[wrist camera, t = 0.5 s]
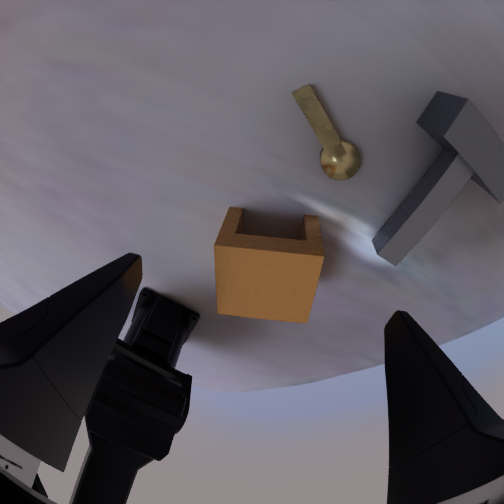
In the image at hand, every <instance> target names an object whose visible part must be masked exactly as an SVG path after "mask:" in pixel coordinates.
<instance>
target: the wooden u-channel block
mask: <svg viewBox="0 0 504 504" xmlns="http://www.w3.org/2000/svg"><path fill="white" fill-rule="evenodd" d="M242 220H243V208H234V207H229V209H228V212H227V214H226V217H225V219H224V222H223V224H222V227H221V229H220V232H219V234H218V237H217V239H216V242H215V244H214V255H215V277H216V297H217V313H218V314H225V315H233V316H241V317H249V318H258V319H267V320H277V321H287V322H298V323H307V322H308V318H309V314H310V311H311V307H312V303H313V300H314V296H315V292H316V288H317V284H318V280H319V276H320V272H321V268H322V264H323V260H324V252H323V245H322V238H321V232H320V226H319V220H318V216H314V215H305V214H304V220H303V227H302V233H301V239H300V240H295V239H286V238H276V237H266V236H256V235H246V234H242Z"/></svg>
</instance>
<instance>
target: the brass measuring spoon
mask: <svg viewBox="0 0 504 504" xmlns="http://www.w3.org/2000/svg"><path fill="white" fill-rule="evenodd" d="M291 93H292V95H293V97H294V98H295V100H296V101H297V103H298V105H299V106H300V108H301V110H302V111H303V113H304V115H305V116H306V118H307V120H308V121H309V123H310V125H311V127H312V128H313V130H314V132H315V134H316V135H317V137H318V139H319V141H320V143H321V144H322V146H323V148H322V149H321V152H320V162H321V166H322V169H323V171H324V172H325V173H326V174H327V175H328V176H329V177H331V178H332V179H335V180H346V179H349V178H351V177H352V176H354V175H355V174H356V173H357V171H358V169H359V167H360V156H359V153H358V151H357V150H356V149H355V147H354V146H353V145H352V144H351V143H350V142H348V141H346V140H343V139H339V137H338V135H337V133H336V131H335V129H334V127H333V125H332V124H331V122H330V120H329V118H328V116H327V115H326V113H325V111H324V109H323V107H322V106H321V104H320V102H319V101H318V99H317V97H316V95H315V94H314V92H313V90H312V89H311V87H310V86H309V84H307V85H305V86H303V87H301V88H299V89H297V90H295V91H293V92H291Z"/></svg>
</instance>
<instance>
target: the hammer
mask: <svg viewBox="0 0 504 504" xmlns="http://www.w3.org/2000/svg"><path fill="white" fill-rule="evenodd" d="M416 123H417V124H419V125H420V126H421V127H422V128H423V129H424V130H425V131H426V132H427V133H428V134H429V135H430V136H432V137H433V138H434V139H435V140H436V141H437V142H438V143H439V144H440V145H441V146H442V147H443V148H444V149H443V151H442V152H441V153H440V155H439V156H438V158H437V159H436V160H435V162H434V163H433V164H432V166H431V167H430V169H429V170H428V171H427V173H426V174H425V175H424V177H423V178H422V179H421V180H420V182H419V183H418V184H417V186H416V187H415V188H414V190H413V191H412V192H411V193H410V195H409V196H408V197H407V198H406V200H405V201H404V202H403V203H402V205H401V206H400V207H399V208H398V210H397V211H396V212H395V213H394V214H393V216H392V217H391V218H390V219H389V221H388V222H387V223H386V224H385V225H384V226H383V228H382V229H381V230H380V231H379V232H378V234H377V235H376V236H375V237H374V238H373V239H372V242H373V245H374V247H375V250H376V253H377V255H379V256H380V257H382V258H384V259H385V260H387V261H388V262H390V263H391V264H393V265H395V266H396V265H397V264H398V263H399V262H400V261H401V260H402V259H403V258H404V257H405V256H406V255H407V254H408V253H409V252H410V251H411V249H412V248H413V247H414V246H415V245H416V244H417V243H418V242H419V241H420V239H421V238H422V237H423V236H424V235H425V234H426V233H427V231H428V230H429V229H430V228H431V227H432V226H433V224H434V223H435V222H436V221H437V220H438V219H439V217H440V216H441V215H442V214H443V212H444V211H445V210H446V209H447V208H448V206H449V205H450V204H451V203H452V201H453V200H454V199H455V197H456V196H457V195H458V194H459V192H460V191H461V190H462V188H463V187H464V186H465V184H466V183H467V182H468V180H469V179H470V178H472V180H473V181H475V182H476V183H477V184H478V185H480V186H481V187H482V188H483V189H484V190H485V191H487V192H488V193H489V194H490V195H491V196H492V197H493V198H495V199H496V200H497V201H498V202H499V203H501V201H502V200H503V199H504V144H503V143H502V141H501V140H500V138H499V137H498V136H497V134H496V133H495V131H494V130H493V129H492V127H491V126H490V125H489V123H488V122H487V121H486V120H485V118H484V117H483V116H482V115H481V113H480V112H479V111H478V110H477V109H476V107H475V106H474V105H473V104H472V103H471V102H470V100H469V99H466V98H462V97H459V96H455V95H451V94H447V93H443V92H439V91H437V92H436V94H435V96H434V97H433V99H432V100H431V102H430V103H429V105H428V106H427V108H426V109H425V110H424V112H423V113H422V115H421V116H420V118H419V119H418V121H417V122H416Z"/></svg>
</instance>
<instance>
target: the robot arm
mask: <svg viewBox="0 0 504 504" xmlns="http://www.w3.org/2000/svg"><path fill="white" fill-rule="evenodd" d="M141 280H142V258H141V256H140V255H138V254H134V253H128V254H126V255H124V256H122V257H120V258H118V259H116V260H114V261H112V262H110V263H108V264H107V265H105V266H103V267H101V268H99V269H97V270H95V271H94V272H92V273H90V274H88V275H86V276H84V277H83V278H81V279H79V280H77V281H75V282H74V283H72V284H70V285H68V286H67V287H65V288H63V289H61V290H60V291H58V292H56V293H54V294H53V295H51V296H50V297H47V298H46V299H44V300H42V301H41V302H39V303H37V304H35V305H33V306H32V307H30V308H28V309H26V310H24V311H22V312H20V313H19V314H17V315H15V316H13V317H11V318H9V319H7V320H5V321H3V322H1V323H0V504H57V503H55V502H53V501H51V500H50V499H48V496H47V494H46V491H45V489H44V487H43V485H42V483H41V481H40V478H39V476H38V474H37V470H38V467H39V465H40V462H41V461H43V462H45V463H46V464H48V465H51V466H52V467H54V468H56V469H58V470H60V471H62V472H64V470H65V467H66V465H67V462H68V459H69V455H70V453H71V450H72V447H73V444H74V441H75V438H76V436H77V433H78V430H79V427H80V425H81V421H82V419H83V417H84V415H85V421H86V427H87V432H88V438H89V442H90V445H89V448H88V450H87V453H86V456H85V458H84V461H83V464H82V467H81V470H80V472H79V475H78V478H77V481H76V484H75V487H74V490H73V493H72V496H71V499H70V502H69V504H126V502H127V499H128V496H129V493H130V490H131V488H132V485H133V482H134V479H135V476H136V474H137V471H138V470H139V469H140V468H142V467H143V466H145V465H146V464H147V463H150V462H151V461H153V460H154V459H155V460H157V461H161V460H162V459H163V458H164V457H165V456H166V455H168V453H169V451H170V447H171V444H172V440H173V437H174V435H175V434H176V433H178V432H179V431H180V430H181V428H182V427H183V425H184V423H185V421H186V418H187V415H188V412H189V405H190V394H191V384H192V376H191V375H189V374H185V373H182V372H180V371H178V370H176V369H175V367H176V363H177V360H178V357H179V354H180V351H181V348H182V345H183V344H184V343H185V341H186V340H187V338H188V336H189V335H190V333H191V332H192V330H193V328H194V327H195V325H196V324H197V322H198V320H199V317H200V315H199V314H198V313H196V312H194V311H192V310H190V309H187V308H185V307H183V306H181V305H179V304H177V303H175V302H172V301H170V300H168V299H166V298H164V297H162V296H160V295H158V294H156V293H154V292H152V291H150V290H148V289H145V288H143V289H142V290H141V292H140V294H139V298H138V301H137V304H136V308H135V311H134V315H133V318H132V324H131V326H130V328H129V330H128V332H127V334H126V336H125V338H124V340H123V341H122V340H120V339H119V338H118V336H119V334H120V332H121V330H122V328H123V326H124V324H125V322H126V320H127V317H128V315H129V312H130V310H131V307H132V304H133V301H134V299H135V296H136V293H137V291H138V288H139V285H140V283H141ZM384 342H385V374H386V386H387V400H388V420H389V475H388V495H387V504H504V420H503V419H502V418H501V417H500V416H499V415H498V414H497V413H496V412H495V411H494V410H493V409H492V408H491V407H490V405H489V404H488V403H487V402H486V401H485V400H484V399H483V398H482V397H481V395H480V394H479V393H478V392H477V391H476V390H475V389H474V387H473V386H472V385H471V384H470V383H469V382H468V380H467V379H466V378H465V377H464V376H463V375H462V373H461V372H460V371H459V370H458V368H457V367H456V366H455V365H454V364H453V363H452V361H451V360H450V359H449V358H448V357H447V356H446V355H445V353H444V352H443V351H442V350H441V349H440V348H439V346H438V345H437V344H436V343H435V342H434V341H433V340H432V339H431V338H430V336H429V335H428V334H427V333H426V332H425V331H424V330H423V329H422V328H421V327H420V325H419V324H418V323H417V322H416V321H415V320H414V319H413V318H412V317H411V316H410V315H409V314H408V313H407V312H405V311H400V310H397V311H396V312H395V313H394V314H393V315H392V317H391V318H390V320H389V321H388V323H387V324H386V326H385V329H384Z"/></svg>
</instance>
